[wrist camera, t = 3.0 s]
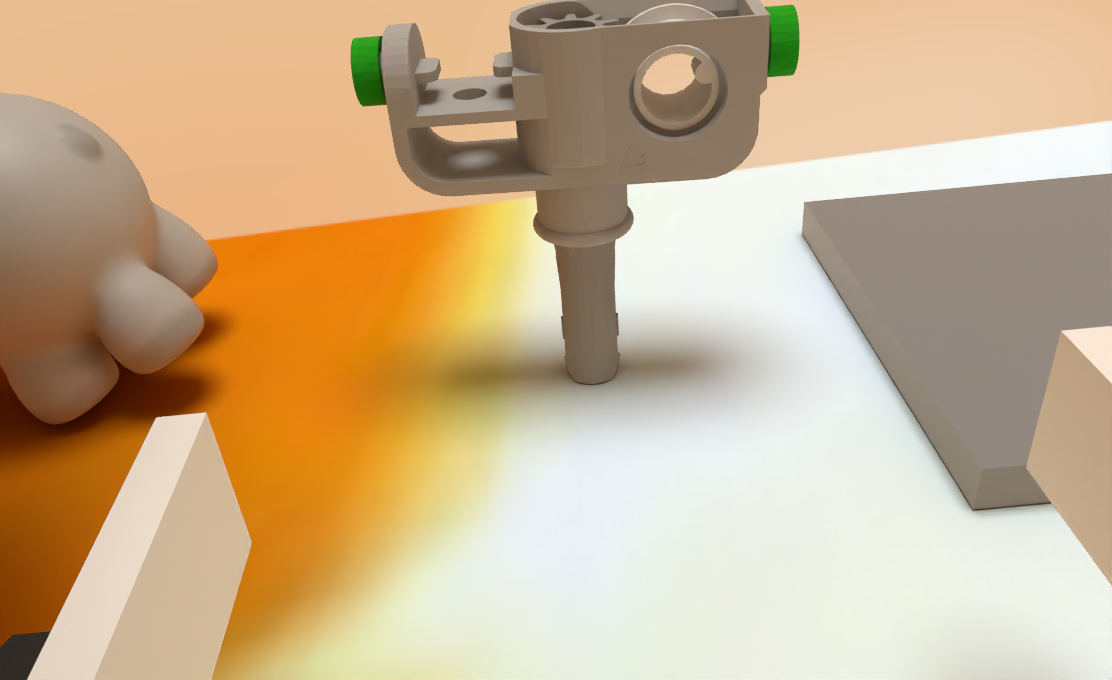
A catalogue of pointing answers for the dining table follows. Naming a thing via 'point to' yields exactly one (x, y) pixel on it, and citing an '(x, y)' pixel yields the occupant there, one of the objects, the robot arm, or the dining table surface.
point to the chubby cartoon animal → (86, 263)
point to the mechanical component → (584, 124)
